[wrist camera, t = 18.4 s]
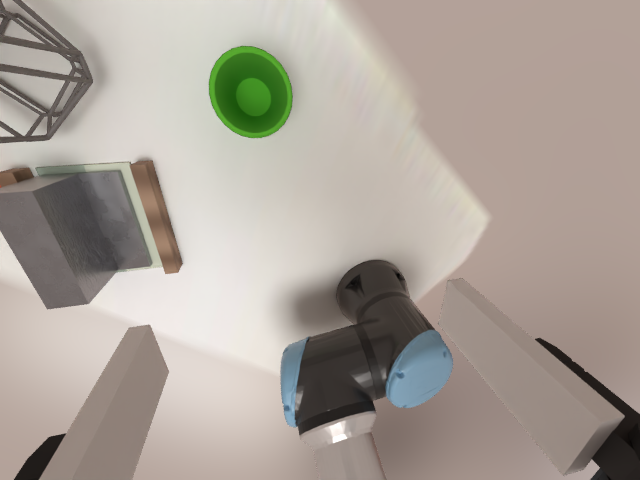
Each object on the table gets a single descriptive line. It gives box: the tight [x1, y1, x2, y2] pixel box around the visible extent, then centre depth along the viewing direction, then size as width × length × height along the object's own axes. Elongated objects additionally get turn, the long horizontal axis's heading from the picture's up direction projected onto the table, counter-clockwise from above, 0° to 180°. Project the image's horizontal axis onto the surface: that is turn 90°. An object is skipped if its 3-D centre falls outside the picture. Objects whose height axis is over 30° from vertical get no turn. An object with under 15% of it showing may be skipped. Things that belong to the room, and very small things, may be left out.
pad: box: [35, 162, 163, 272], centre depth 43 cm, size 18×12×1 cm, turn 1°
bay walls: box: [0, 161, 183, 274], centre depth 42 cm, size 18×18×3 cm
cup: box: [209, 46, 293, 138], centre depth 35 cm, size 9×9×11 cm
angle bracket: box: [0, 170, 153, 309], centre depth 38 cm, size 16×10×10 cm, turn 1°
